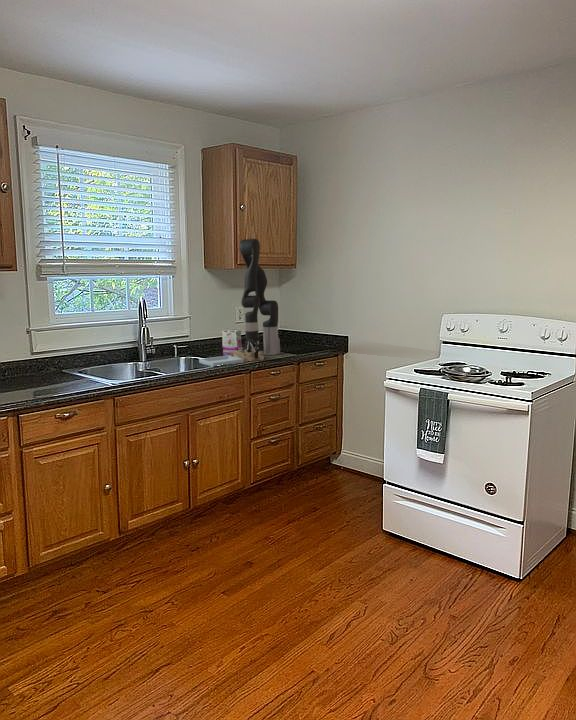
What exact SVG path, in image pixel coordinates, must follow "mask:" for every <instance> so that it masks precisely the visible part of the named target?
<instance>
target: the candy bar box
mask: <svg viewBox="0 0 576 720" xmlns="http://www.w3.org/2000/svg"><path fill="white" fill-rule="evenodd" d="M221 339H222V340H221V341H222V343H221V345H222V356H228V355H229V356H233V357H234V351H240V350H243V349H242V348H243V346H242V331H241V330H234V329H233V330H227V329H226V330H222V331H221Z"/></svg>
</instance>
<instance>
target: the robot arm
mask: <svg viewBox="0 0 576 720" xmlns="http://www.w3.org/2000/svg"><path fill="white" fill-rule="evenodd" d="M238 245H239V246H238V247H239V252H240V255H241V257H242V259H243V261H244V264H245V266H246V268H247V270H246V272H245V274H244V289H243V294H242V297H241V305H242V307H243V308H245V309H250V308H253V309H252V311H251V310H250V311H247V312H245V314H244V316H245V317H244V319H245V324H244V325H245V326H244V330H245V338H246V339H244V347H245V349H247V353H250V352H251V351H250V350H251V349H254V357H255V359H258V352H259V351H261V341H260V340H257V339H259V337H260V336H259V335H260V334H259V323H258V319H259V318H258V314H259V313H258V312H260V314H261V315H262V316H269V318H268V319H267V320H265V321H263V322H262V335H263V337H262V339H263V354H264V355H266V356H267V355H268V356H274V355H280V354H281V343H280V342H281V341H280V337H279V328H278V326H279V325H278V324H279V303H278V302H277V301H276V300H266V298H265V291H266V289H267V286H268V279H267V275H266V272H265V270H264V269H263V268H262V267H261V266H260V265H259V261H260V254H261V245H260V241H259V239H258V238H248V239H240V241H239V244H238ZM252 292H254V293H255V295H250V294H251V293H252ZM245 349H244V350H245Z"/></svg>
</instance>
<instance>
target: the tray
mask: <svg viewBox="0 0 576 720" xmlns="http://www.w3.org/2000/svg"><path fill="white" fill-rule="evenodd" d="M198 363H199V364H201V365H204V366H208V367H211V366H217V365H222V364H234V365H237V364H236V363H242V364H245V362H244V360H243V359H241V358H237V357H233V356H229V355H228V356H223V355H222V356H213V357H206V358H199V359H198Z"/></svg>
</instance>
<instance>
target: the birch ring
mask: <svg viewBox="0 0 576 720" xmlns="http://www.w3.org/2000/svg"><path fill="white" fill-rule="evenodd" d="M250 351H251V352H250V353H245V349H242V350H240V351H234V357H237V358H241V359H243V360H244V363H248V362H247V361H250V362H257V361H262V360H264V359H265V358H264V355H265V354H264V350H260V351H259V352H258V359H255V357H254V349H251V350H250Z"/></svg>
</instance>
